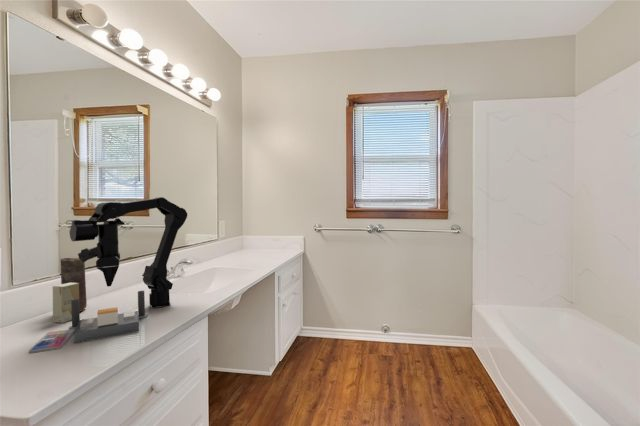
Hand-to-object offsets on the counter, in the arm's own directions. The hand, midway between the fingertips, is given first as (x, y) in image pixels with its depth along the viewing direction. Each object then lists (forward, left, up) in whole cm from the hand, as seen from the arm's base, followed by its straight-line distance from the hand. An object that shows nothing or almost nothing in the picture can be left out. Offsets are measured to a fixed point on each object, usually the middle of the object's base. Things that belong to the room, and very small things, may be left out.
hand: (109, 283), depth 111 cm
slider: (0, +17, -9) cm, 19 cm away
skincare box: (+13, -7, -12) cm, 19 cm away
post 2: (-9, +5, -12) cm, 16 cm away
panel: (0, +13, -12) cm, 18 cm away
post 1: (+9, +5, -12) cm, 16 cm away
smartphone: (+13, +14, -13) cm, 23 cm away
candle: (+12, -17, -12) cm, 24 cm away
